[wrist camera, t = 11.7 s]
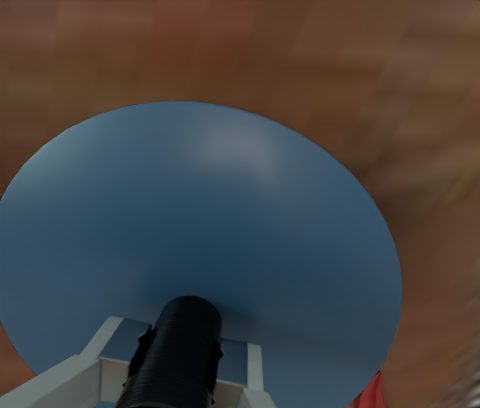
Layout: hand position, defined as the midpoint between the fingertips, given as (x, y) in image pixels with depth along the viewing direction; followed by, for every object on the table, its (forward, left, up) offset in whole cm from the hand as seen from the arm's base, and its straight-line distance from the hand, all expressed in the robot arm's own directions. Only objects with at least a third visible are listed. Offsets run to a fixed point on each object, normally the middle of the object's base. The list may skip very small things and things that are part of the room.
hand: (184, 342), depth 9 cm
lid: (0, 0, -2) cm, 2 cm away
